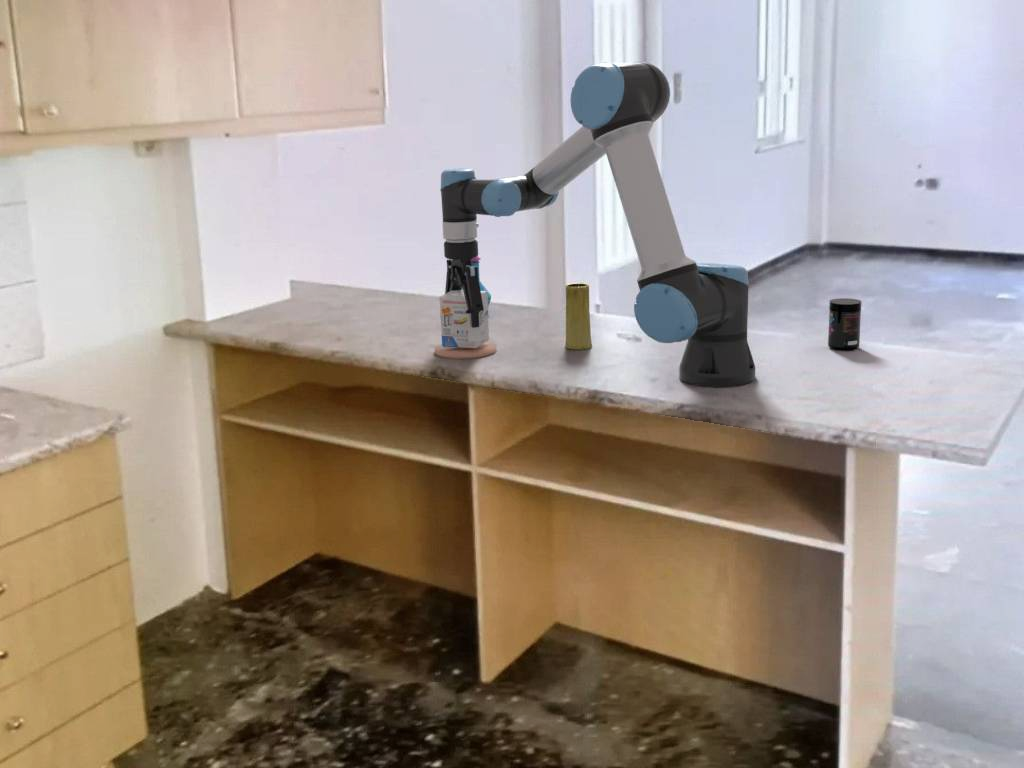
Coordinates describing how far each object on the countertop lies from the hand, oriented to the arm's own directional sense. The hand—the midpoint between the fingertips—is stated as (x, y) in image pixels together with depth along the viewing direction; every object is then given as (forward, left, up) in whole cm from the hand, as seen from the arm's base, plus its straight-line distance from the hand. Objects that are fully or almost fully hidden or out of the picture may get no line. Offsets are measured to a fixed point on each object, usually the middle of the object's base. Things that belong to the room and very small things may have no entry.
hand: (465, 336), depth 262 cm
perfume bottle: (+38, -16, -4) cm, 41 cm away
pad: (0, 0, -4) cm, 4 cm away
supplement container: (-39, -74, -4) cm, 84 cm away
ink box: (0, 0, -2) cm, 2 cm away
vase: (-9, -24, -4) cm, 26 cm away
